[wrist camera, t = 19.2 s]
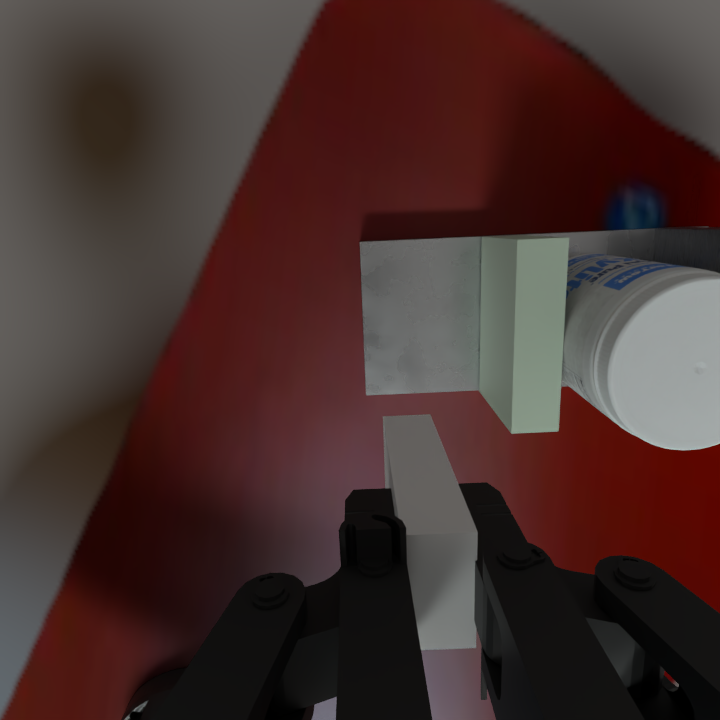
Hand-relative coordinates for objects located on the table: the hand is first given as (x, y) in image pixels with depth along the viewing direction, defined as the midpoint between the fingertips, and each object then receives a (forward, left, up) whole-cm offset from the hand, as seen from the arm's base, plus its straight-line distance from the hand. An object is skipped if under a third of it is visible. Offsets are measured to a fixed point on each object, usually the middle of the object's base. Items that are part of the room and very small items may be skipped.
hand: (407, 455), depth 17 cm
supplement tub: (+16, 0, -25) cm, 29 cm away
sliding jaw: (+9, 0, -24) cm, 26 cm away
